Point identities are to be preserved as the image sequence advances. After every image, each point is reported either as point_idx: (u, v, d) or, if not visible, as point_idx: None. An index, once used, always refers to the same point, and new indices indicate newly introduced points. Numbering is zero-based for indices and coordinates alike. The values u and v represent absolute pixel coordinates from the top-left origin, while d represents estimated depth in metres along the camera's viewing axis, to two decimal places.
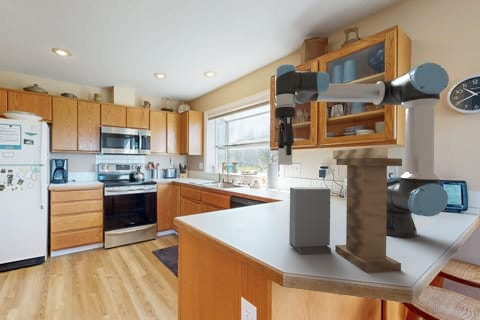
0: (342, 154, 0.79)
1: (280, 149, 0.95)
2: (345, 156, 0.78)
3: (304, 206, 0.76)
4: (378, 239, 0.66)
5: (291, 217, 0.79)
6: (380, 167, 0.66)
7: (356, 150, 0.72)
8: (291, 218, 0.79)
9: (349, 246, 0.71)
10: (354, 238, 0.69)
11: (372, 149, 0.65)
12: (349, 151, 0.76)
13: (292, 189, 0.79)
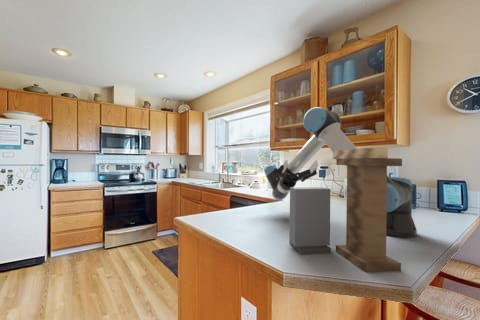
0: (342, 154, 0.79)
1: (310, 171, 1.08)
2: (345, 156, 0.78)
3: (304, 206, 0.76)
4: (378, 239, 0.66)
5: (291, 217, 0.79)
6: (380, 167, 0.66)
7: (356, 150, 0.72)
8: (291, 218, 0.79)
9: (349, 246, 0.71)
10: (354, 238, 0.69)
11: (372, 149, 0.65)
12: (349, 151, 0.76)
13: (292, 189, 0.79)
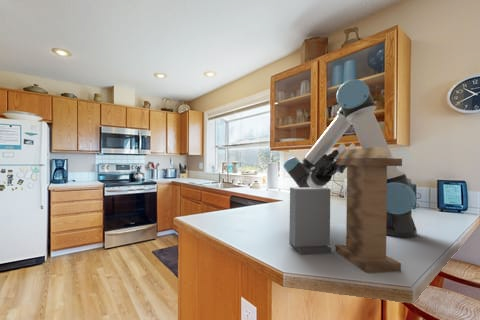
0: (342, 154, 0.79)
1: None
2: (345, 156, 0.78)
3: (304, 206, 0.76)
4: (378, 239, 0.66)
5: (291, 217, 0.79)
6: (380, 167, 0.66)
7: (356, 150, 0.72)
8: (291, 218, 0.79)
9: (349, 246, 0.71)
10: (354, 238, 0.69)
11: (372, 149, 0.65)
12: (349, 151, 0.76)
13: (292, 189, 0.79)
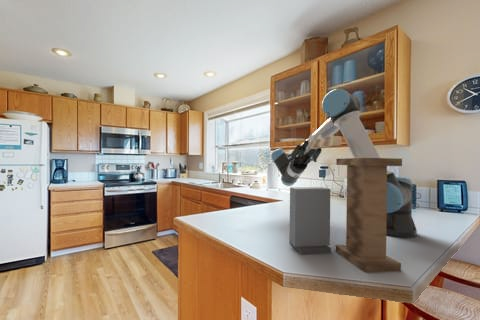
0: (311, 144, 0.94)
1: None
2: (313, 145, 0.92)
3: (304, 206, 0.76)
4: (378, 239, 0.66)
5: (291, 217, 0.79)
6: (380, 167, 0.66)
7: (320, 139, 0.87)
8: (291, 218, 0.79)
9: (349, 246, 0.71)
10: (354, 238, 0.69)
11: (329, 138, 0.80)
12: (315, 141, 0.90)
13: (292, 189, 0.79)
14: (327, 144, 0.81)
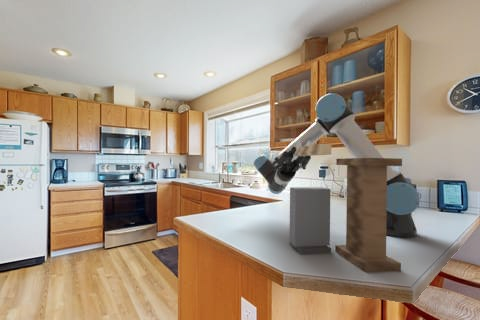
0: (299, 151, 0.84)
1: None
2: (301, 153, 0.83)
3: (304, 206, 0.76)
4: (378, 239, 0.66)
5: (291, 217, 0.79)
6: (380, 167, 0.66)
7: (308, 147, 0.77)
8: (291, 218, 0.79)
9: (349, 246, 0.71)
10: (354, 238, 0.69)
11: (318, 146, 0.70)
12: (303, 148, 0.81)
13: (292, 189, 0.79)
14: (315, 153, 0.72)
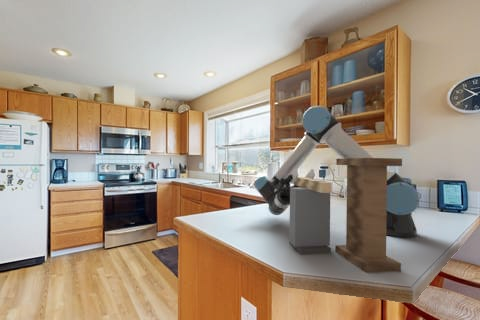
0: (299, 181, 0.84)
1: None
2: (301, 184, 0.83)
3: (304, 206, 0.76)
4: (378, 239, 0.66)
5: (291, 217, 0.79)
6: (380, 167, 0.66)
7: (308, 181, 0.77)
8: (291, 218, 0.79)
9: (349, 246, 0.71)
10: (354, 238, 0.69)
11: (318, 183, 0.70)
12: (304, 180, 0.80)
13: (292, 189, 0.79)
14: (316, 189, 0.72)
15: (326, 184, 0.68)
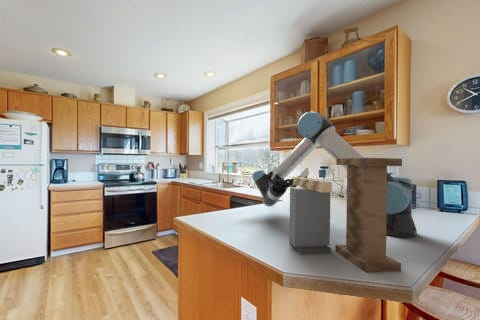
0: (299, 182, 0.84)
1: None
2: (301, 184, 0.83)
3: (304, 206, 0.76)
4: (378, 239, 0.66)
5: (291, 217, 0.79)
6: (380, 167, 0.66)
7: (308, 181, 0.77)
8: (291, 218, 0.79)
9: (349, 246, 0.71)
10: (354, 238, 0.69)
11: (318, 183, 0.70)
12: (303, 180, 0.80)
13: (292, 189, 0.79)
14: (316, 189, 0.72)
15: (326, 183, 0.68)
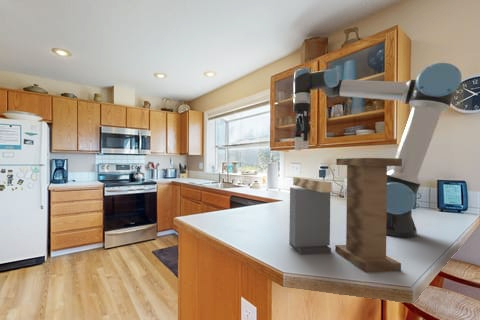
0: (299, 182, 0.84)
1: (296, 138, 1.16)
2: (301, 184, 0.83)
3: (304, 206, 0.76)
4: (378, 239, 0.66)
5: (291, 217, 0.79)
6: (380, 167, 0.66)
7: (308, 181, 0.77)
8: (291, 218, 0.79)
9: (349, 246, 0.71)
10: (354, 238, 0.69)
11: (318, 183, 0.70)
12: (303, 180, 0.80)
13: (292, 189, 0.79)
14: (316, 189, 0.72)
15: (326, 183, 0.68)
